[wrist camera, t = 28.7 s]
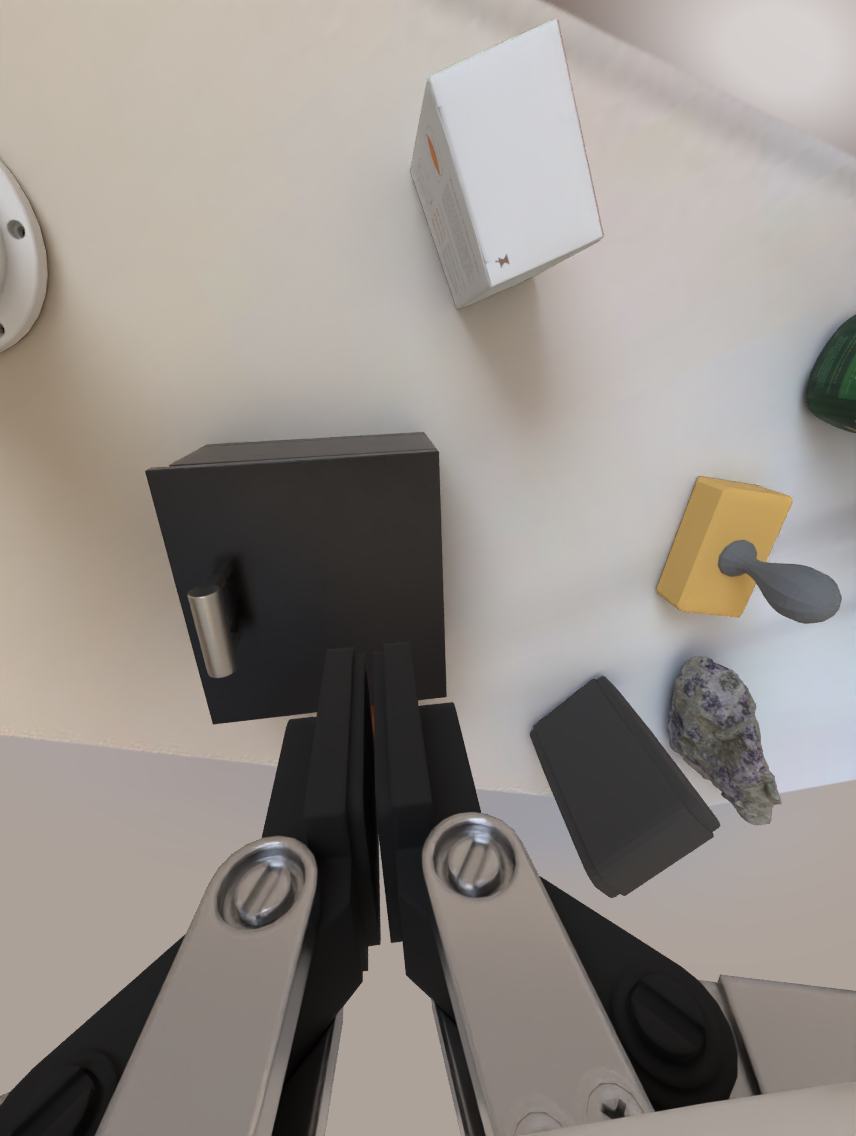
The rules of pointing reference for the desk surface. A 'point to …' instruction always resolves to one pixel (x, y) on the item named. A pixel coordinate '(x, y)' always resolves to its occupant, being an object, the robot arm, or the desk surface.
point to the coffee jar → (836, 379)
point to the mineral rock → (722, 737)
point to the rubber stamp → (740, 557)
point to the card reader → (618, 789)
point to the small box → (504, 166)
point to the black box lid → (304, 572)
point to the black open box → (306, 448)
